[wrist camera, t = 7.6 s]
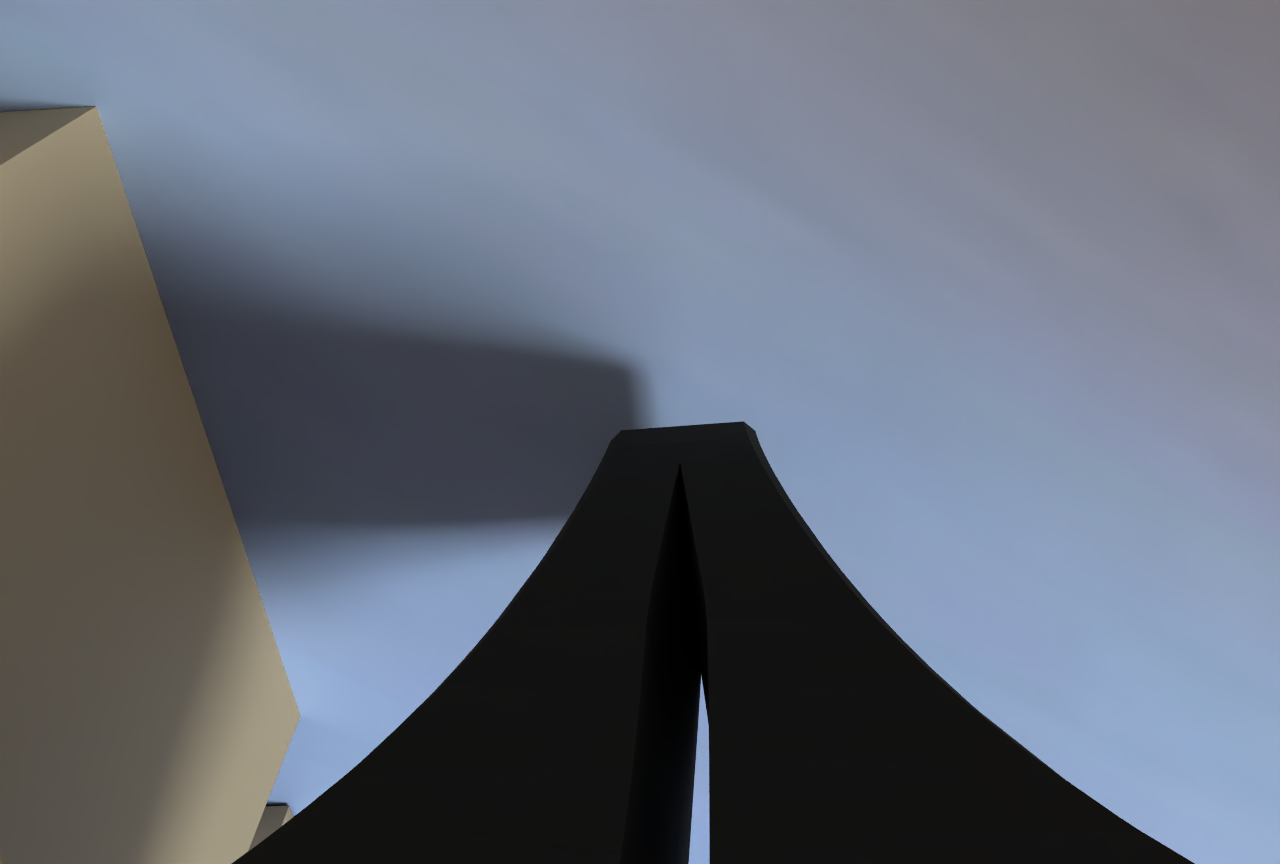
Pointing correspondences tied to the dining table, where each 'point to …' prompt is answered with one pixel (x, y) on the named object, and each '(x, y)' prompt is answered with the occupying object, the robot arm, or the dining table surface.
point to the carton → (115, 544)
